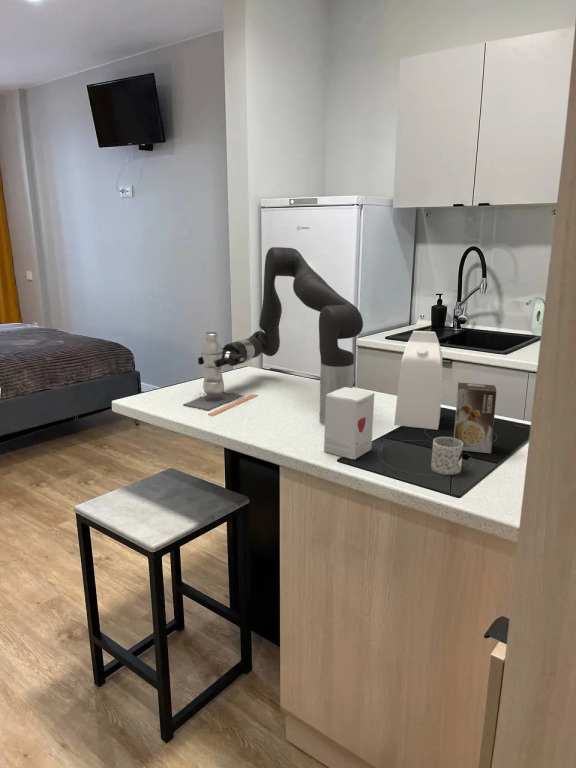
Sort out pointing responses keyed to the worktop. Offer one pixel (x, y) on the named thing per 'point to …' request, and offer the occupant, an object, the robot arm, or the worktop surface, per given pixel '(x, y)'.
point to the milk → (420, 382)
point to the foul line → (232, 405)
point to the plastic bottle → (212, 365)
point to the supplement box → (348, 422)
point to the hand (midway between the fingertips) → (207, 362)
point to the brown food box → (475, 416)
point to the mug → (447, 455)
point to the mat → (212, 401)
